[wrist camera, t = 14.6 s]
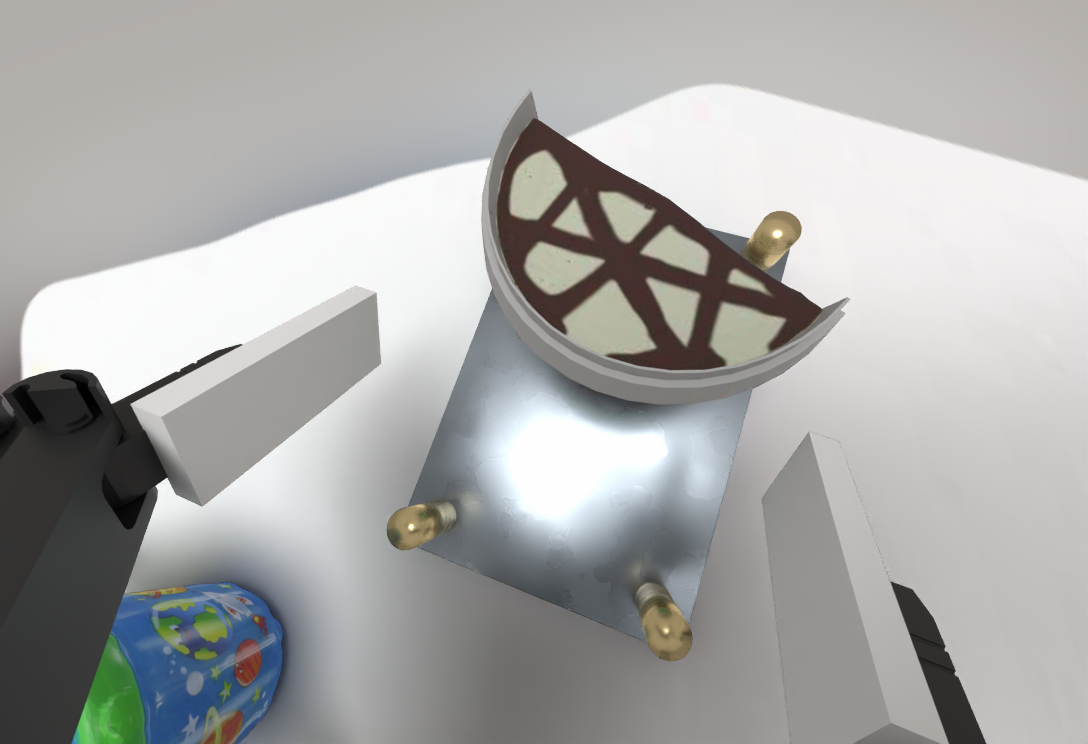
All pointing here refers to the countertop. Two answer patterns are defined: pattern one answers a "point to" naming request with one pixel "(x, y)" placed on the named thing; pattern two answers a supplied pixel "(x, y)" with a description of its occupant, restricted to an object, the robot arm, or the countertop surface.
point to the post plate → (581, 479)
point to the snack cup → (184, 668)
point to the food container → (629, 279)
